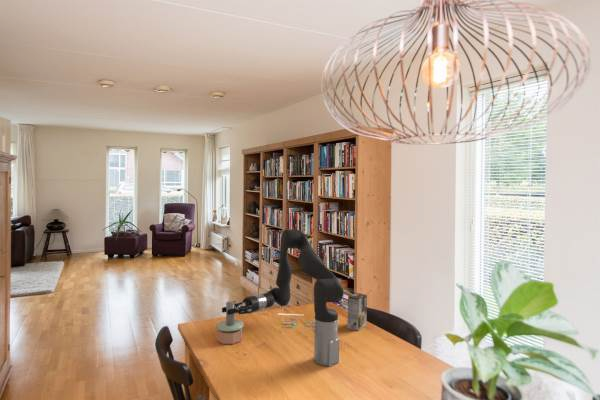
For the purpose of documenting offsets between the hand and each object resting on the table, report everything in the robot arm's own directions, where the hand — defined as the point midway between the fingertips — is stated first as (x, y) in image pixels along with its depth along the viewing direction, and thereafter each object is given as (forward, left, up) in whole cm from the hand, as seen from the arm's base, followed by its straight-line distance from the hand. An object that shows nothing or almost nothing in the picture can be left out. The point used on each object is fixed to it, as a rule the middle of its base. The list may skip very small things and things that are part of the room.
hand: (225, 311), depth 178 cm
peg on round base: (0, -3, -8) cm, 8 cm away
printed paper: (-8, -42, -15) cm, 45 cm away
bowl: (0, -3, -14) cm, 14 cm away
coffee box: (-30, -59, -14) cm, 67 cm away
